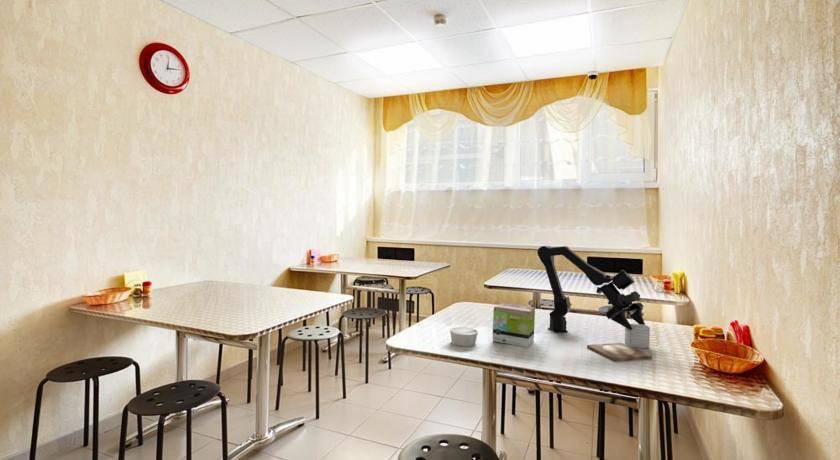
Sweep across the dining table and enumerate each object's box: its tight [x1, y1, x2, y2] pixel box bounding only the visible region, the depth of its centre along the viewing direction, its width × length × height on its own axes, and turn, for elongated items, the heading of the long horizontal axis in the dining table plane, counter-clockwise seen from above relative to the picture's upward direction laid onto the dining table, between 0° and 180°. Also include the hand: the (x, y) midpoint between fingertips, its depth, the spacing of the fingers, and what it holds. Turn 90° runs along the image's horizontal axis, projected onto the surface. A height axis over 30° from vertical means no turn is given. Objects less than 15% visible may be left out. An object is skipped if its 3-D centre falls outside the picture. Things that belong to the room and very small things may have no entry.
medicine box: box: [624, 323, 651, 349], centre depth 172 cm, size 8×4×9 cm, turn 86°
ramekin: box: [449, 326, 479, 348], centre depth 172 cm, size 11×11×5 cm
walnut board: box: [586, 342, 653, 362], centre depth 163 cm, size 16×16×1 cm
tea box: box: [492, 302, 536, 349], centre depth 175 cm, size 15×10×15 cm, turn 62°
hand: (638, 328), depth 171 cm, fingers open, 9 cm apart
